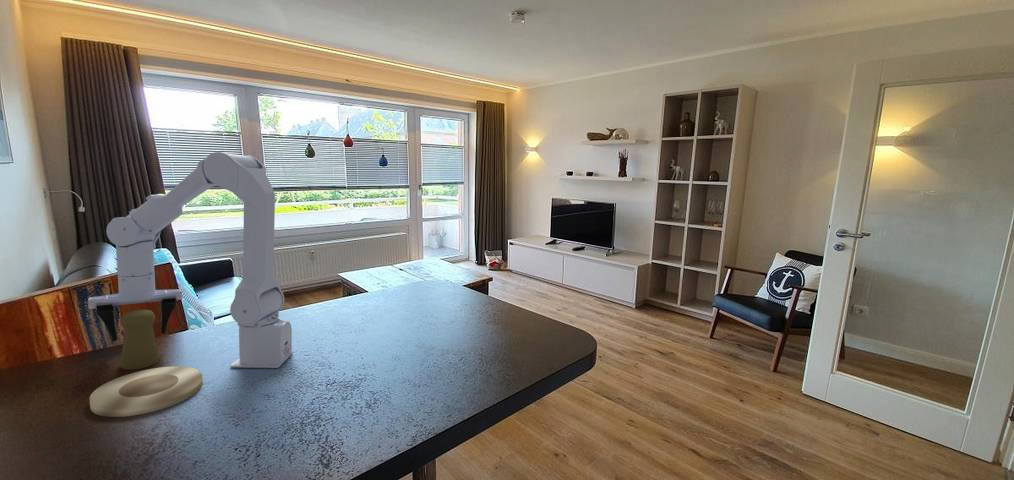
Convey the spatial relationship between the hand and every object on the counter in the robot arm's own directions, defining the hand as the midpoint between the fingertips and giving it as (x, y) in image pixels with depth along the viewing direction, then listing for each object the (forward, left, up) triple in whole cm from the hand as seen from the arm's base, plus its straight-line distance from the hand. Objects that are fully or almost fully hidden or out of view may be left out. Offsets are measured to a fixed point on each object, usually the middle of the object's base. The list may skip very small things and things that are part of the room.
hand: (139, 335), depth 87 cm
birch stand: (-13, +17, -4) cm, 22 cm away
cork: (-3, +5, -4) cm, 7 cm away
